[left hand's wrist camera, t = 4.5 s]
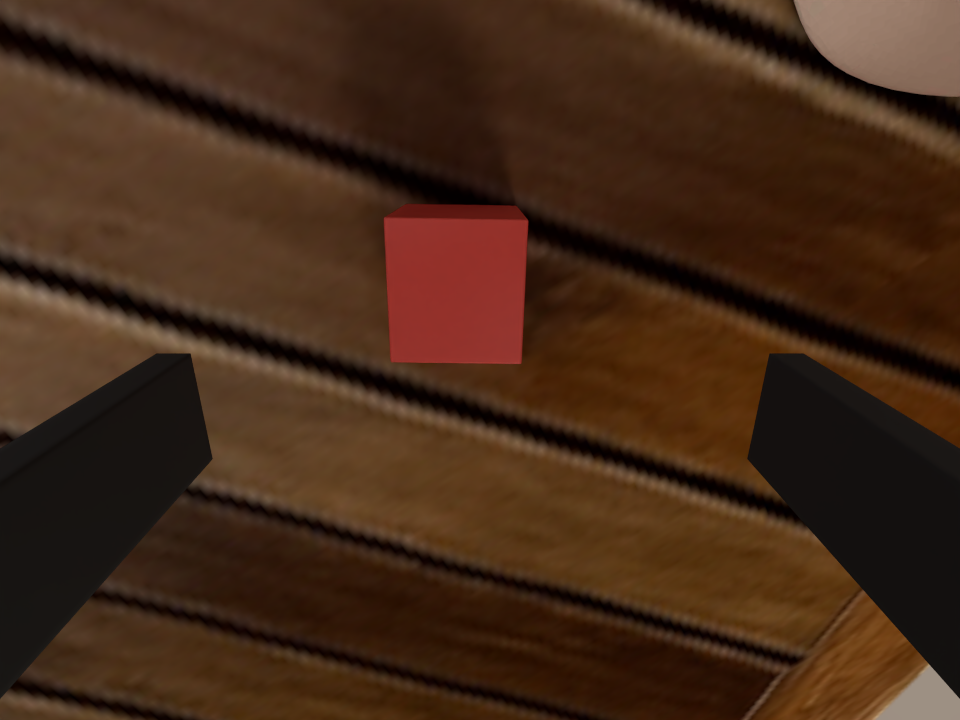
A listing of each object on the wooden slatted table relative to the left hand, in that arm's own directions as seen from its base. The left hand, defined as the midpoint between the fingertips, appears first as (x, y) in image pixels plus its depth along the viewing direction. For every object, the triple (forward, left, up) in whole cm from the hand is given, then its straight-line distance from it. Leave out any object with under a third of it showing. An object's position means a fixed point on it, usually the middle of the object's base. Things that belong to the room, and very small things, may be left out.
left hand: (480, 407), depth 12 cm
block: (-1, +1, -10) cm, 10 cm away
